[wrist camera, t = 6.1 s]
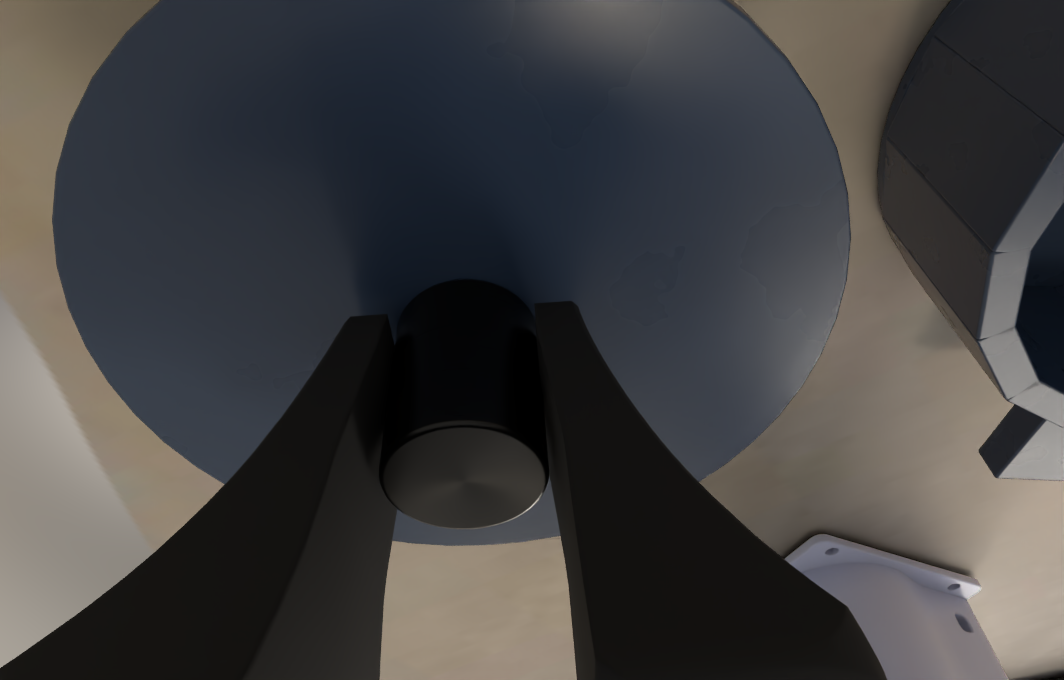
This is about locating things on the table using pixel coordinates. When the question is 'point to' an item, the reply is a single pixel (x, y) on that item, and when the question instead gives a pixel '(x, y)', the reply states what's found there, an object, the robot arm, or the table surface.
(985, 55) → the pot
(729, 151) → the lid
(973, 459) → the table surface
